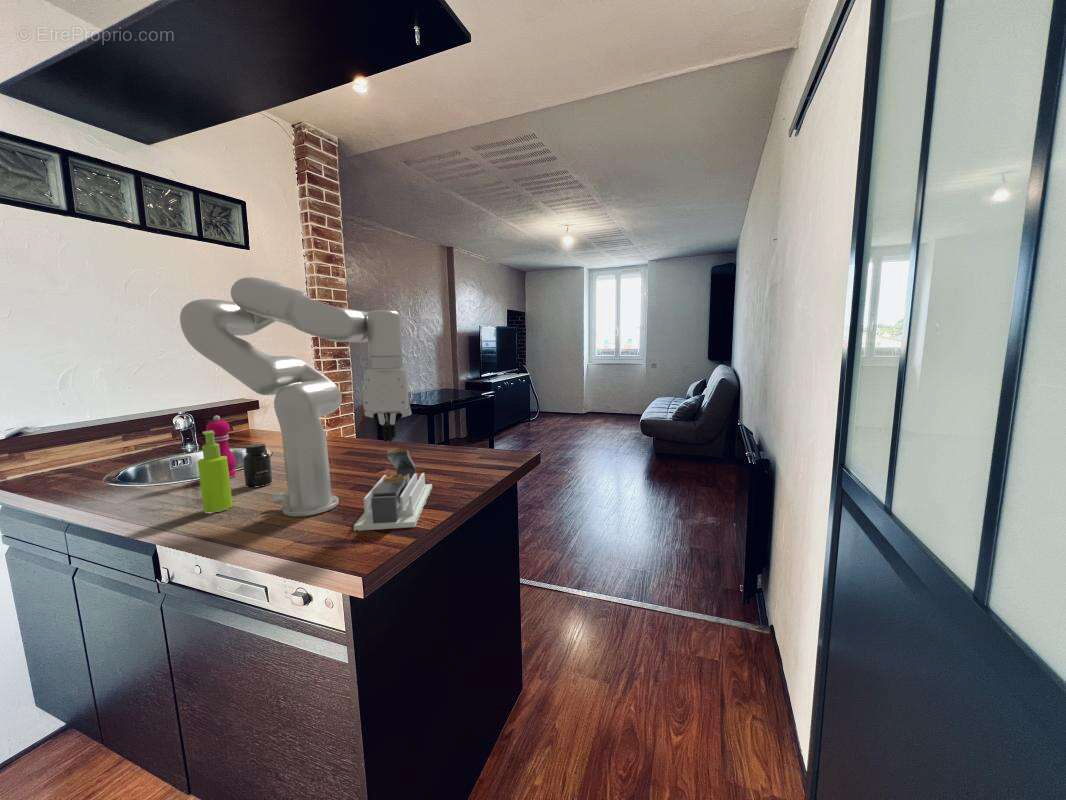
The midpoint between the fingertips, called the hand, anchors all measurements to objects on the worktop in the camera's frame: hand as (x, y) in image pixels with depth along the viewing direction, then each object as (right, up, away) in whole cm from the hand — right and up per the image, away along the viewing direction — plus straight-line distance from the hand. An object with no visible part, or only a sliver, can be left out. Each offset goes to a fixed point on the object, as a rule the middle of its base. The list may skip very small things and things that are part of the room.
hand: (389, 440), depth 102 cm
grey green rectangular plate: (0, -7, +9) cm, 11 cm away
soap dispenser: (-45, -18, +6) cm, 49 cm away
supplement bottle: (-47, -16, +25) cm, 55 cm away
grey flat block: (+1, -11, -3) cm, 12 cm away
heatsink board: (+1, -17, +4) cm, 17 cm away
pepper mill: (-64, -15, +33) cm, 74 cm away
